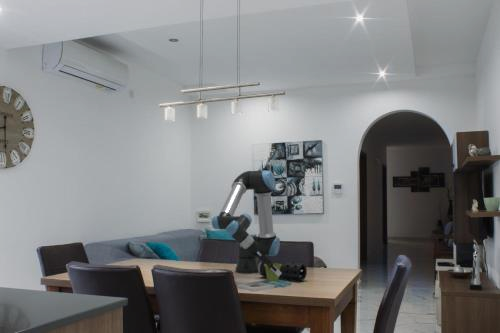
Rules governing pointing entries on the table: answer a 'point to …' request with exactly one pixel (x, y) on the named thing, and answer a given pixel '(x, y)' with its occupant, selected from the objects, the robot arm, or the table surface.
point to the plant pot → (272, 273)
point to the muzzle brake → (287, 270)
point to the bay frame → (263, 285)
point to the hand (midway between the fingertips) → (278, 273)
